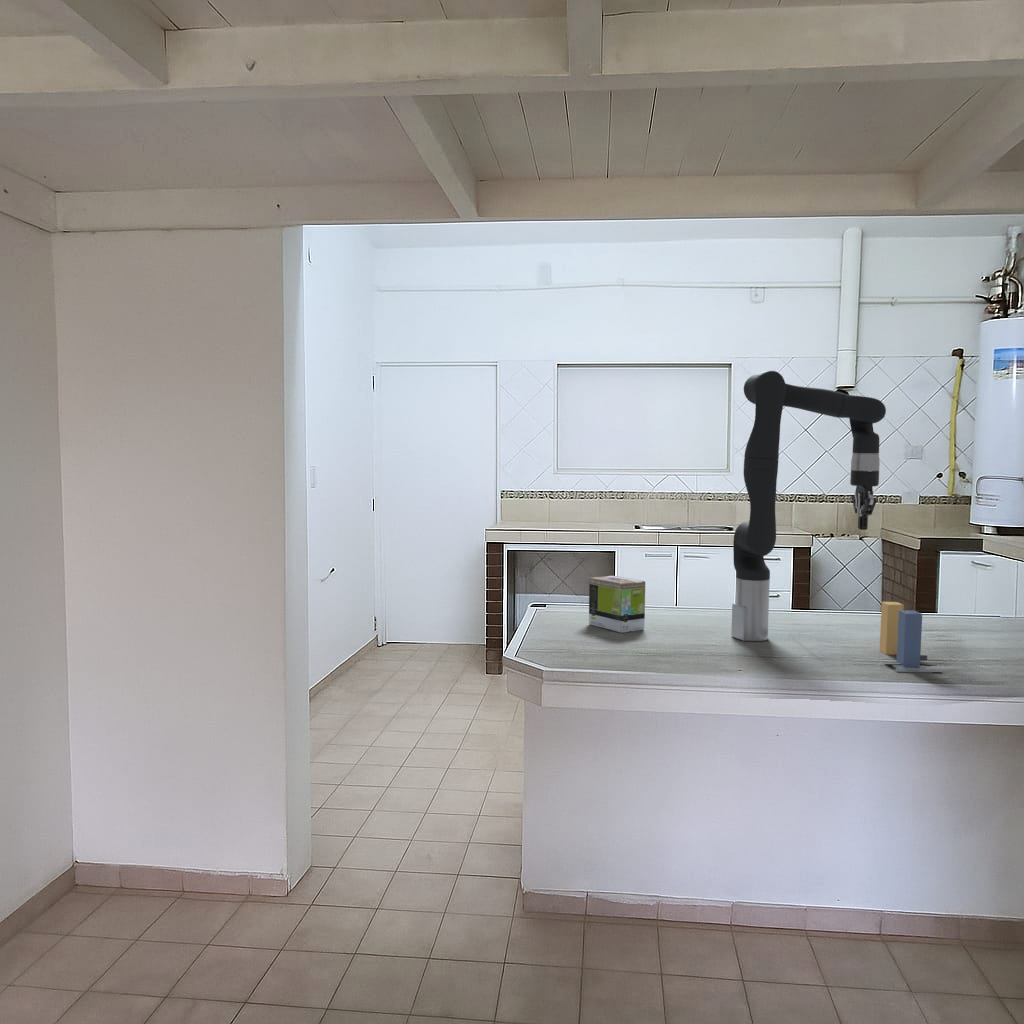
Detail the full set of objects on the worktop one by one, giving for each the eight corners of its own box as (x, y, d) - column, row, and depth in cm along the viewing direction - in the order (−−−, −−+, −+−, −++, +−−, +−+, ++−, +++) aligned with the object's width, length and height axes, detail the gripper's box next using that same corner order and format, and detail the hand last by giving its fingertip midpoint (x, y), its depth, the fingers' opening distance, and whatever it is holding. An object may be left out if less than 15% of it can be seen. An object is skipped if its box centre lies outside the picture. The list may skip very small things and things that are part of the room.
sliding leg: (911, 654, 216) (913, 605, 215) (885, 654, 217) (887, 604, 216) (904, 651, 220) (906, 602, 219) (879, 650, 221) (881, 601, 220)
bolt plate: (942, 672, 204) (942, 668, 204) (896, 671, 204) (896, 667, 204) (897, 647, 230) (897, 643, 230) (856, 646, 230) (856, 642, 230)
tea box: (645, 629, 249) (646, 580, 248) (620, 633, 244) (621, 583, 242) (612, 621, 262) (613, 574, 261) (587, 624, 256) (588, 576, 255)
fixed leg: (929, 666, 206) (932, 614, 205) (903, 665, 206) (905, 613, 205) (922, 662, 210) (924, 610, 209) (896, 661, 210) (898, 610, 209)
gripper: (843, 468, 246) (841, 527, 248) (860, 469, 233) (857, 531, 234) (869, 468, 246) (867, 527, 247) (887, 470, 233) (885, 532, 234)
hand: (862, 529), depth 241 cm, fingers closed
